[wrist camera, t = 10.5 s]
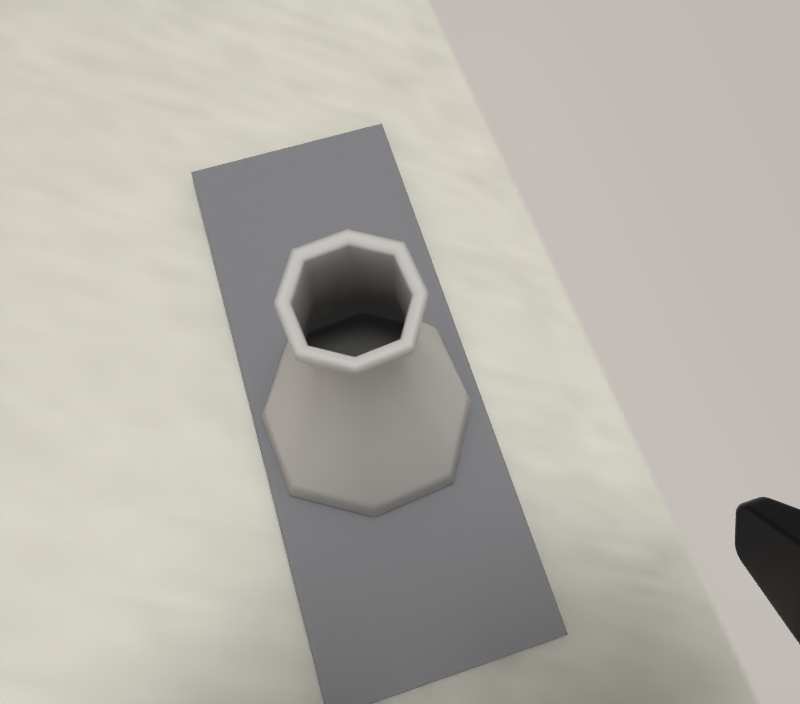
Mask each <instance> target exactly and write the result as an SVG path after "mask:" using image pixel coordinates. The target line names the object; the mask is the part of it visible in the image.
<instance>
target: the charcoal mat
mask: <svg viewBox="0 0 800 704" xmlns="http://www.w3.org/2000/svg"><path fill="white" fill-rule="evenodd" d="M191 173H192V177H193V181H194V185H195V189H196V193H197V197H198V201H199V205H200V209H201V213H202V217H203V221H204V225H205V229H206V233H207V237H208V241H209V245H210V249H211V253H212V257H213V261H214V265H215V269H216V273H217V277H218V281H219V285H220V289H221V293H222V297H223V301H224V305H225V309H226V313H227V317H228V321H229V325H230V329H231V333H232V337H233V341H234V345H235V349H236V353H237V357H238V361H239V365H240V369H241V373H242V377H243V381H244V385H245V389H246V393H247V397H248V401H249V405H250V409H251V413H252V417H253V421H254V425H255V429H256V433H257V437H258V441H259V445H260V449H261V453H262V457H263V461H264V465H265V469H266V473H267V477H268V481H269V485H270V489H271V493H272V497H273V501H274V505H275V509H276V513H277V517H278V521H279V525H280V529H281V533H282V537H283V541H284V545H285V549H286V553H287V557H288V561H289V565H290V569H291V573H292V577H293V581H294V585H295V589H296V592H297V596H298V600H299V604H300V608H301V612H302V616H303V620H304V624H305V628H306V632H307V636H308V640H309V644H310V648H311V652H312V656H313V660H314V664H315V668H316V672H317V676H318V680H319V684H320V688H321V692H322V696H323V700H324V704H371V703H374V702H377V701H380V700H382V699H385V698H388V697H391V696H394V695H397V694H399V693H402V692H405V691H408V690H411V689H414V688H417V687H419V686H422V685H425V684H428V683H431V682H434V681H436V680H439V679H442V678H445V677H448V676H451V675H453V674H456V673H459V672H462V671H465V670H468V669H471V668H473V667H476V666H479V665H482V664H485V663H488V662H490V661H493V660H496V659H499V658H502V657H505V656H507V655H510V654H513V653H516V652H519V651H522V650H525V649H527V648H530V647H533V646H536V645H539V644H542V643H544V642H547V641H550V640H553V639H556V638H559V637H561V636H564V635H567V631H566V629H565V626H564V623H563V620H562V618H561V615H560V612H559V609H558V607H557V604H556V601H555V598H554V596H553V593H552V590H551V587H550V585H549V582H548V579H547V576H546V574H545V571H544V568H543V565H542V563H541V560H540V557H539V554H538V552H537V549H536V546H535V543H534V541H533V538H532V535H531V532H530V530H529V527H528V524H527V521H526V519H525V516H524V513H523V510H522V508H521V505H520V502H519V500H518V497H517V494H516V491H515V489H514V486H513V483H512V480H511V478H510V475H509V472H508V469H507V467H506V464H505V461H504V458H503V456H502V453H501V450H500V447H499V445H498V442H497V439H496V436H495V434H494V431H493V428H492V425H491V423H490V420H489V417H488V414H487V412H486V409H485V406H484V403H483V401H482V398H481V395H480V392H479V390H478V387H477V384H476V381H475V379H474V376H473V373H472V370H471V368H470V365H469V362H468V359H467V357H466V354H465V351H464V348H463V346H462V343H461V340H460V337H459V335H458V332H457V329H456V326H455V324H454V321H453V318H452V315H451V313H450V310H449V307H448V304H447V302H446V299H445V296H444V294H443V291H442V288H441V285H440V283H439V280H438V277H437V274H436V272H435V269H434V266H433V263H432V261H431V258H430V255H429V252H428V250H427V247H426V244H425V241H424V239H423V236H422V233H421V230H420V228H419V225H418V222H417V219H416V217H415V214H414V211H413V208H412V206H411V203H410V200H409V197H408V195H407V192H406V189H405V186H404V184H403V181H402V178H401V175H400V173H399V170H398V167H397V164H396V162H395V159H394V156H393V153H392V151H391V148H390V145H389V142H388V140H387V137H386V134H385V131H384V129H383V126H382V124H379V125H375V126H371V127H367V128H363V129H359V130H355V131H351V132H347V133H344V134H340V135H336V136H332V137H328V138H324V139H320V140H316V141H312V142H308V143H304V144H300V145H297V146H293V147H289V148H285V149H281V150H277V151H273V152H269V153H265V154H261V155H257V156H254V157H250V158H246V159H242V160H238V161H234V162H230V163H226V164H222V165H218V166H214V167H210V168H207V169H203V170H199V171H195V172H191ZM346 229H350V230H354V231H359V232H363V233H367V234H372V235H376V236H381V237H385V238H389V239H394V240H398V241H402V242H405V244H406V246H407V248H408V250H409V252H410V254H411V257H412V259H413V261H414V263H415V265H416V267H417V269H418V271H419V274H420V276H421V278H422V280H423V282H424V284H425V286H426V288H427V290H428V300H427V304H426V308H425V312H424V316H423V320H422V322H424V323H426V324H428V325H431V326H433V327H435V328H436V329H438V330H439V332H440V334H441V336H442V339H443V341H444V343H445V345H446V347H447V349H448V351H449V354H450V356H451V358H452V360H453V362H454V364H455V366H456V368H457V371H458V373H459V375H460V377H461V379H462V381H463V383H464V386H465V388H466V390H467V392H468V394H469V396H470V398H471V400H472V404H471V408H470V413H469V418H468V422H467V427H466V431H465V436H464V440H463V445H462V449H461V454H460V458H459V463H458V467H457V472H456V477H455V481H454V483H452V484H450V485H448V486H445V487H443V488H441V489H438V490H436V491H434V492H431V493H429V494H427V495H424V496H422V497H420V498H417V499H415V500H413V501H411V502H408V503H406V504H404V505H401V506H399V507H397V508H394V509H392V510H390V511H387V512H385V513H383V514H380V515H378V516H376V517H372V516H368V515H364V514H360V513H357V512H353V511H349V510H345V509H341V508H337V507H333V506H329V505H325V504H322V503H318V502H314V501H310V500H306V499H302V498H298V497H294V496H290V494H289V491H288V488H287V485H286V483H285V480H284V477H283V474H282V472H281V469H280V466H279V463H278V461H277V458H276V455H275V452H274V450H273V447H272V444H271V441H270V439H269V436H268V433H267V431H266V428H265V425H264V422H263V420H262V414H263V411H264V408H265V405H266V402H267V399H268V395H269V392H270V389H271V386H272V383H273V380H274V377H275V374H276V371H277V368H278V364H279V361H280V358H281V355H282V352H283V349H284V346H285V343H286V340H287V337H286V334H285V332H284V329H283V326H282V324H281V321H280V319H279V316H278V314H277V311H276V309H275V306H274V300H275V297H276V294H277V291H278V288H279V285H280V282H281V279H282V277H283V274H284V271H285V268H286V265H287V262H288V259H289V256H290V253H291V250H292V249H294V248H296V247H299V246H302V245H305V244H307V243H310V242H313V241H316V240H318V239H321V238H324V237H326V236H329V235H332V234H335V233H337V232H340V231H343V230H346Z"/></svg>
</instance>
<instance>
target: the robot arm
mask: <svg viewBox="0 0 800 704" xmlns="http://www.w3.org/2000/svg"><path fill="white" fill-rule="evenodd" d="M735 547H736V551H737V554H738V556H739V558H740V560H741V561H742V563H743V564H744V566H745V567H746V569H747V570H748V571H749V573H750V574H751V576H752V577H753V578H754V580H755V581H756V583H757V584H758V586H759V587H760V589H761V590H762V591H763V593H764V594H765V596H766V597H767V599H768V600H769V601H770V603H771V604H772V606H773V607H774V609H775V610H776V611H777V613H778V614H779V616H780V617H781V618H782V620H783V621H784V623H785V624H786V626H787V627H788V628H789V630H790V631H791V633H792V634H793V636H794V637H795V638H796V639H797V641H798V642H799V644H800V509H797V508H794V507H792V506H789V505H786V504H784V503H781V502H778V501H776V500H773V499H770V498H766V497H759V498H756V499H753V500H750V501H748V502H744V503H742V504H740V505H739V506H738V507H737V509H736V524H735Z"/></svg>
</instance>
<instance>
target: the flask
mask: <svg viewBox="0 0 800 704" xmlns="http://www.w3.org/2000/svg"><path fill="white" fill-rule="evenodd" d="M427 300H428V290H427V288H426V286H425V284H424V282H423V280H422V278H421V276H420V274H419V271H418V269H417V267H416V265H415V263H414V261H413V259H412V257H411V254H410V252H409V250H408V248H407V246H406V244H405V242H402V241H398V240H394V239H389V238H385V237H381V236H376V235H372V234H367V233H363V232H359V231H354V230H350V229H346V230H343V231H340V232H337V233H335V234H332V235H329V236H326V237H324V238H321V239H318V240H316V241H313V242H310V243H307V244H305V245H302V246H299V247H296V248H294V249H292V250H291V253H290V256H289V259H288V262H287V265H286V268H285V271H284V274H283V277H282V279H281V282H280V285H279V288H278V291H277V294H276V297H275V300H274V306H275V309H276V311H277V314H278V316H279V319H280V321H281V324H282V326H283V329H284V332H285V334H286V337H287V340H286V343H285V346H284V349H283V352H282V355H281V358H280V361H279V364H278V368H277V371H276V374H275V377H274V380H273V383H272V386H271V389H270V392H269V395H268V399H267V402H266V405H265V408H264V411H263V414H262V420H263V422H264V425H265V428H266V431H267V433H268V436H269V439H270V441H271V444H272V447H273V450H274V452H275V455H276V458H277V461H278V463H279V466H280V469H281V472H282V474H283V477H284V480H285V483H286V485H287V488H288V491H289V494H290V496H294V497H298V498H302V499H306V500H310V501H314V502H318V503H322V504H325V505H329V506H333V507H337V508H341V509H345V510H349V511H353V512H357V513H360V514H364V515H368V516H372V517H376V516H378V515H380V514H383V513H385V512H387V511H390V510H392V509H394V508H397V507H399V506H401V505H404V504H406V503H408V502H411V501H413V500H415V499H417V498H420V497H422V496H424V495H427V494H429V493H431V492H434V491H436V490H438V489H441V488H443V487H445V486H448V485H450V484H452V483H454V481H455V477H456V472H457V467H458V463H459V458H460V454H461V449H462V445H463V440H464V436H465V431H466V427H467V422H468V418H469V413H470V408H471V404H472V400H471V398H470V396H469V394H468V392H467V390H466V388H465V386H464V383H463V381H462V379H461V377H460V375H459V373H458V371H457V368H456V366H455V364H454V362H453V360H452V358H451V356H450V354H449V351H448V349H447V347H446V345H445V343H444V341H443V339H442V336H441V334H440V332H439V330H438V329H436V328H435V327H433V326H431V325H428V324H426V323H424V322H422V320H423V316H424V312H425V308H426V304H427Z"/></svg>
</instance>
